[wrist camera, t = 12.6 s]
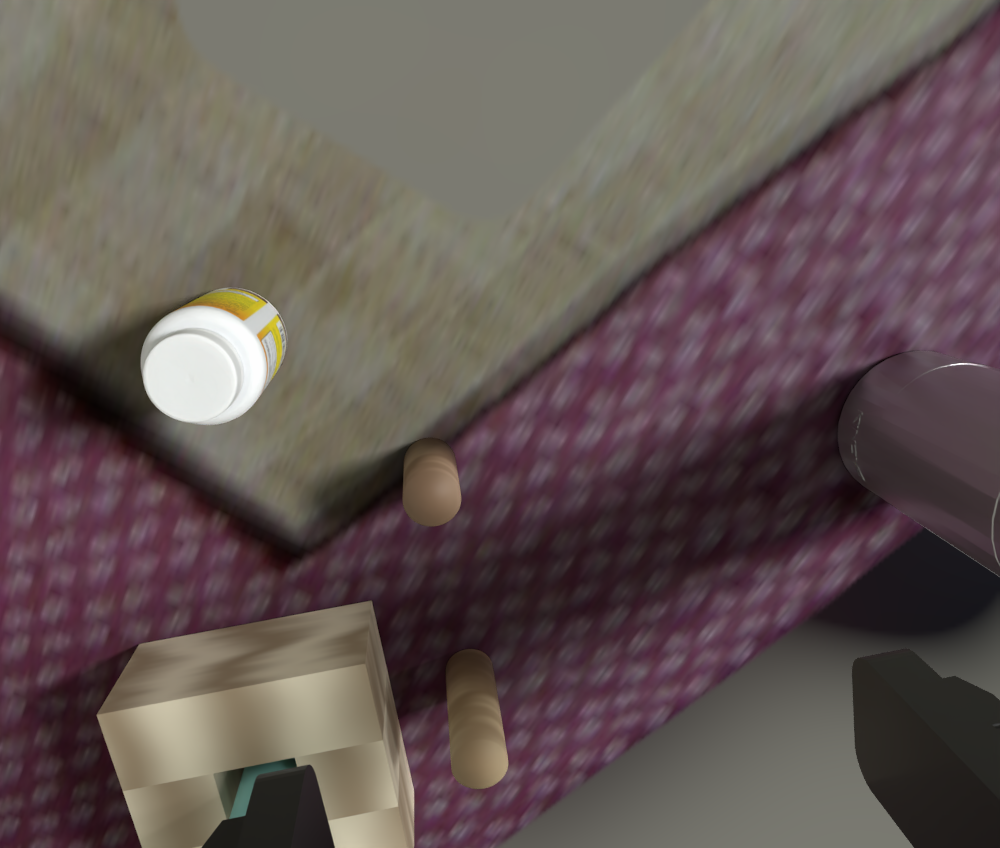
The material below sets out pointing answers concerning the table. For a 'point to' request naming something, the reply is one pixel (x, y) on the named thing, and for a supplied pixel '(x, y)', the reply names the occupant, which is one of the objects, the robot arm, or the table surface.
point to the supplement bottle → (213, 356)
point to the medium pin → (474, 721)
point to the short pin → (430, 482)
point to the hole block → (261, 726)
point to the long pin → (248, 782)
